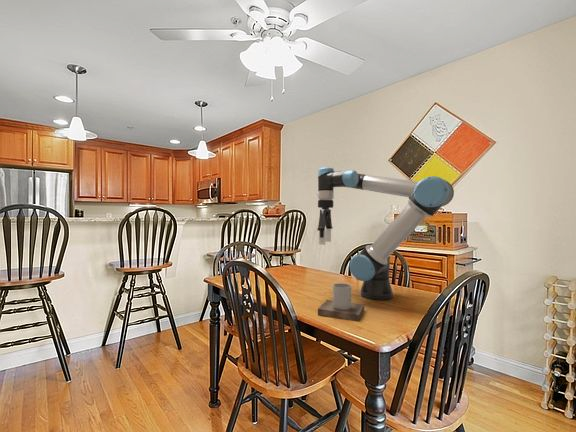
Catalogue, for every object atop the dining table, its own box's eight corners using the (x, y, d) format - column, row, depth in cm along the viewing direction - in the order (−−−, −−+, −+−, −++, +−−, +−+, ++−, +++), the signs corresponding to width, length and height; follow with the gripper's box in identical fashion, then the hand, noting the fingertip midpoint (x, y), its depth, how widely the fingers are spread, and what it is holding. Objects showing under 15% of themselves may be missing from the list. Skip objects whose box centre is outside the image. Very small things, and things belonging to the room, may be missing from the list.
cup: (333, 310, 117) (333, 287, 117) (331, 302, 127) (331, 281, 127) (352, 310, 117) (352, 287, 117) (348, 302, 127) (348, 281, 127)
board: (364, 310, 125) (364, 304, 125) (358, 321, 113) (358, 314, 113) (326, 305, 131) (326, 299, 131) (317, 315, 119) (317, 308, 119)
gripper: (323, 200, 160) (323, 240, 161) (311, 198, 137) (311, 245, 137) (337, 200, 158) (337, 240, 158) (327, 198, 134) (327, 246, 135)
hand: (325, 243), depth 148 cm, fingers open, 13 cm apart
